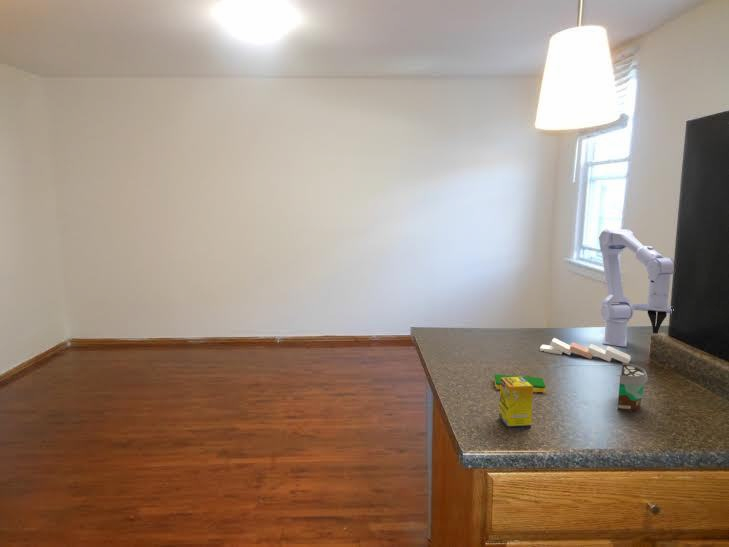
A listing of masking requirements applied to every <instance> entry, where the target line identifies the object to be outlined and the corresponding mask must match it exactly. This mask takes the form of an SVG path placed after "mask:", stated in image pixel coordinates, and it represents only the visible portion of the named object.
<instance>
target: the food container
mask: <svg viewBox="0 0 729 547" xmlns="http://www.w3.org/2000/svg"><path fill="white" fill-rule="evenodd" d="M621 363H622V365H621V373H620V375H619V387H618V398H617V399H618V401H617V411H619V410H621V411H620V412H627V411H632V412H637V411H639V410H640V409H641V403H642V398H643V393H644V392H643V391H644V387H645V384H646V383H648V374H647V372H646V370H645V369H644V368H642V367H641V366H638V365H636V364H633V363H630V362H629V363H624V362H621Z"/></svg>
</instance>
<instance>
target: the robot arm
mask: <svg viewBox="0 0 729 547" xmlns="http://www.w3.org/2000/svg"><path fill="white" fill-rule="evenodd" d="M598 242H599V249H600V252H601V257H602V264H603V270H604V272H603V273H604V277H605V278H604V279H605V285H606V293H607V296H606V297H605V298H604V299H603V300H602V301H601V308H600V314H601V316H602V317H601V318H603V320H604V321H605V327H604V337H603V339H602V344H603V345H607V346H615V347H617V346H618V347H624V348H626V347H627V343H628V342H627V341H628V340H627V331H628V330H627V328H628V327H627V325H628V322H630V320H631V319H632V318H633V316H634V311H643V312H647V315H648V317H649V320H650V323H651V327H652V334H658V333H659V330H660V327H661V325H662V323H663V322H664V321H665V319H666V318H667V315H668V314H672V309H671V307H672V306H669V298H670V285H671V276H672V275H674V273H675V272H674V261H675V260H674V259H673V258H672V257H665V256H663V255H662V254H661V253H659V252H658V251H657V250H655V249H654V247H653V246H651V245H643V244H642V243H641V242H640V241H639V240H638V239H637V238H636V237H635V236H634V231H631V229H628V228H624V229H623V228H622V229H607V228H605V229H603V230H602V231H601V233H600V234H599V236H598ZM625 249H629V250H630V251H632V252H633V253H634V254H635V257H636V260H638V261H639V262H640V263H641V264H643V265H644V266H645V267H646V272H647V274H648V280H649V286H648V296H647V297H648V298H647V303H645V304H643V303H632V304H631V299H630V298H628V297H627V296H625V295H624V291H623V283H622V276H621V270H620V262H619V254H620V253H621V252H623V251H624V250H625ZM670 311H671V313H670ZM673 311H674V309H673Z"/></svg>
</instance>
